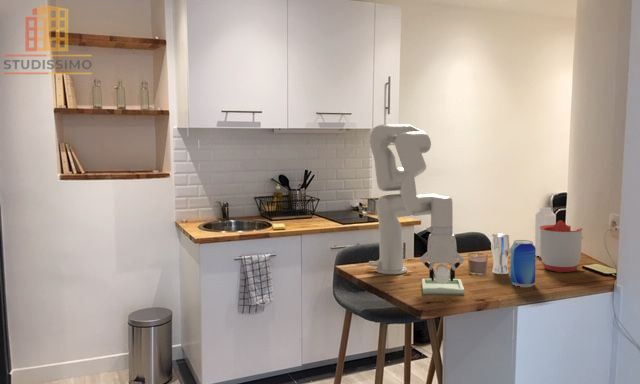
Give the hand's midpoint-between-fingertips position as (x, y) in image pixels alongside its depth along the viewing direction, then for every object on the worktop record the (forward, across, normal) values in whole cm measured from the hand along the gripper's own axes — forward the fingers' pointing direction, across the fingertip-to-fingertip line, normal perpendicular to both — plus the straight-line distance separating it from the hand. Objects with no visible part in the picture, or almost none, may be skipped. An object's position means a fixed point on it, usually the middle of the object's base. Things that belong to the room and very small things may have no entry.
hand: (442, 279), depth 193 cm
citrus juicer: (+3, +49, +32) cm, 59 cm away
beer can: (+3, +29, +7) cm, 30 cm away
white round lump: (+1, 0, 0) cm, 1 cm away
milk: (+3, +48, +55) cm, 73 cm away
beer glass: (+3, +24, +25) cm, 35 cm away
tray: (+3, 0, 0) cm, 3 cm away
